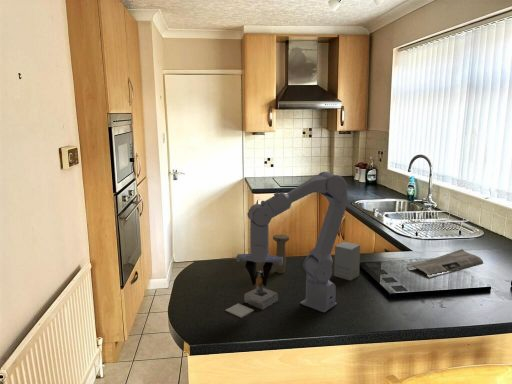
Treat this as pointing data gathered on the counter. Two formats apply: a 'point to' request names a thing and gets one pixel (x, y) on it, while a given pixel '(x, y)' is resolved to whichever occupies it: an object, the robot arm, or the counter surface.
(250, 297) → the block
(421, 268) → the newspaper
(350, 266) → the supplement box
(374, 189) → the counter surface
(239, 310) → the mat
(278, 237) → the handle
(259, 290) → the amber medicine bottle
